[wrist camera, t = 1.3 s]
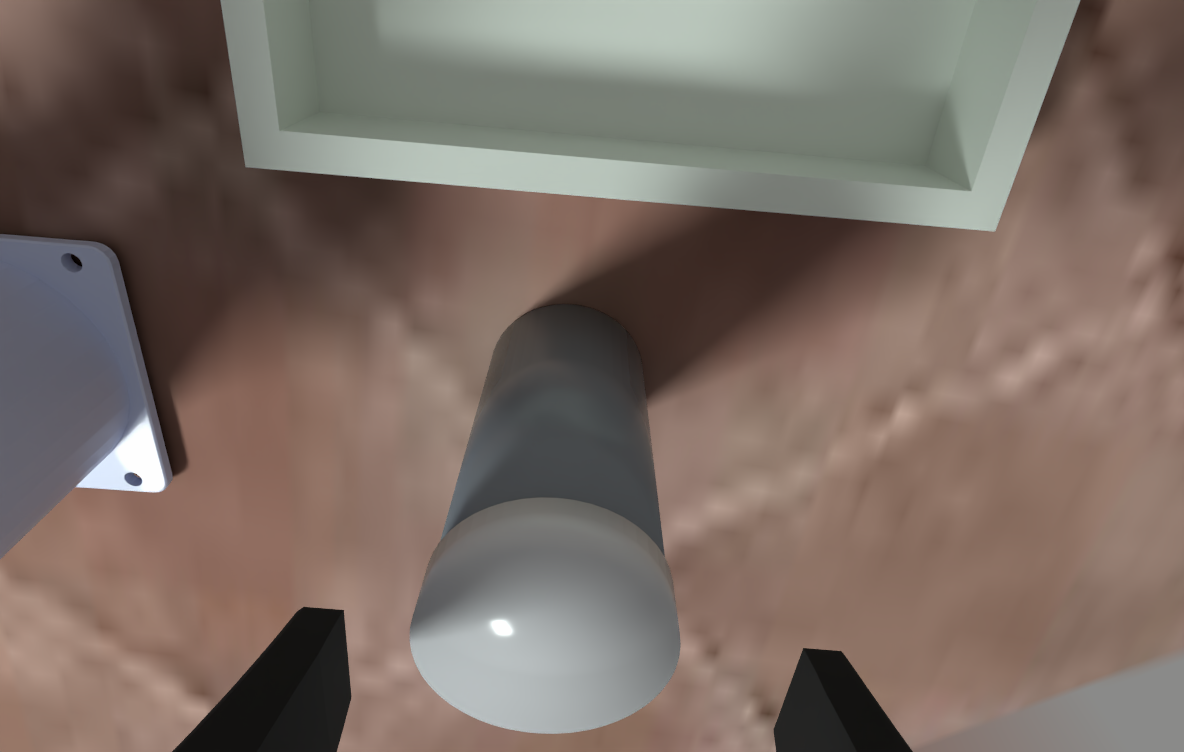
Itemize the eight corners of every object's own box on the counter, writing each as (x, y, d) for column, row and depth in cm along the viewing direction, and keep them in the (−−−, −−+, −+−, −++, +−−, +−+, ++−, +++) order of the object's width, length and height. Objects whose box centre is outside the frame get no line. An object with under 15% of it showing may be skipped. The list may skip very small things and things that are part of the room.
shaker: (486, 434, 22) (414, 725, 13) (488, 294, 19) (403, 536, 11) (636, 445, 22) (661, 740, 13) (655, 307, 20) (699, 556, 11)
